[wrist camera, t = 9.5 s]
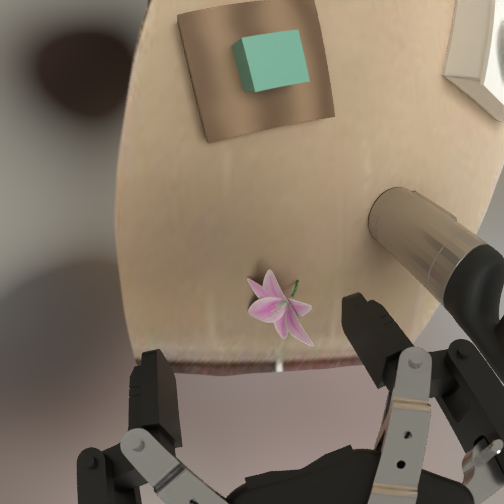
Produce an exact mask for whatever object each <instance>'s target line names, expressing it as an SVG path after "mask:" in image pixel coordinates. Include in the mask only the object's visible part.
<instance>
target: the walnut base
mask: <svg viewBox="0 0 504 504" xmlns="http://www.w3.org/2000/svg"><path fill="white" fill-rule="evenodd" d="M177 22H178V26H179V31H180V35H181V39H182V43H183V48H184V52H185V56H186V60H187V64H188V68H189V73H190V77H191V81H192V85H193V89H194V93H195V97H196V101H197V105H198V109H199V113H200V117H201V121H202V125H203V129H204V133H205V137H206V140H207V141H208V143H212V142H215V141H219V140H223V139H227V138H231V137H235V136H239V135H243V134H248V133H252V132H256V131H261V130H265V129H270V128H275V127H280V126H285V125H290V124H295V123H300V122H306V121H312V120H318V119H324V118H330V117H335V113H334V105H333V98H332V91H331V84H330V78H329V72H328V66H327V60H326V54H325V49H324V44H323V38H322V33H321V29H320V24H319V19H318V14H317V10H316V6H315V1H314V0H264V1H254V2H245V3H238V4H231V5H224V6H218V7H212V8H207V9H202V10H197V11H192V12H188V13H184V14H179V15H177ZM290 30H298V31H299V35H300V39H301V43H302V47H303V52H304V56H305V61H306V65H307V70H308V75H309V79H310V82H304V83H298V84H293V85H287V86H282V87H277V88H272V89H267V90H263V91H258V92H248V91H243V87H242V83H241V79H240V75H239V71H238V67H237V63H236V60H235V56H234V52H233V48H232V45H233V44H234V43H236V42H237V41H238V40H239V39H241V38H244V37H249V36H255V35H261V34H267V33H274V32H282V31H290Z"/></svg>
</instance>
